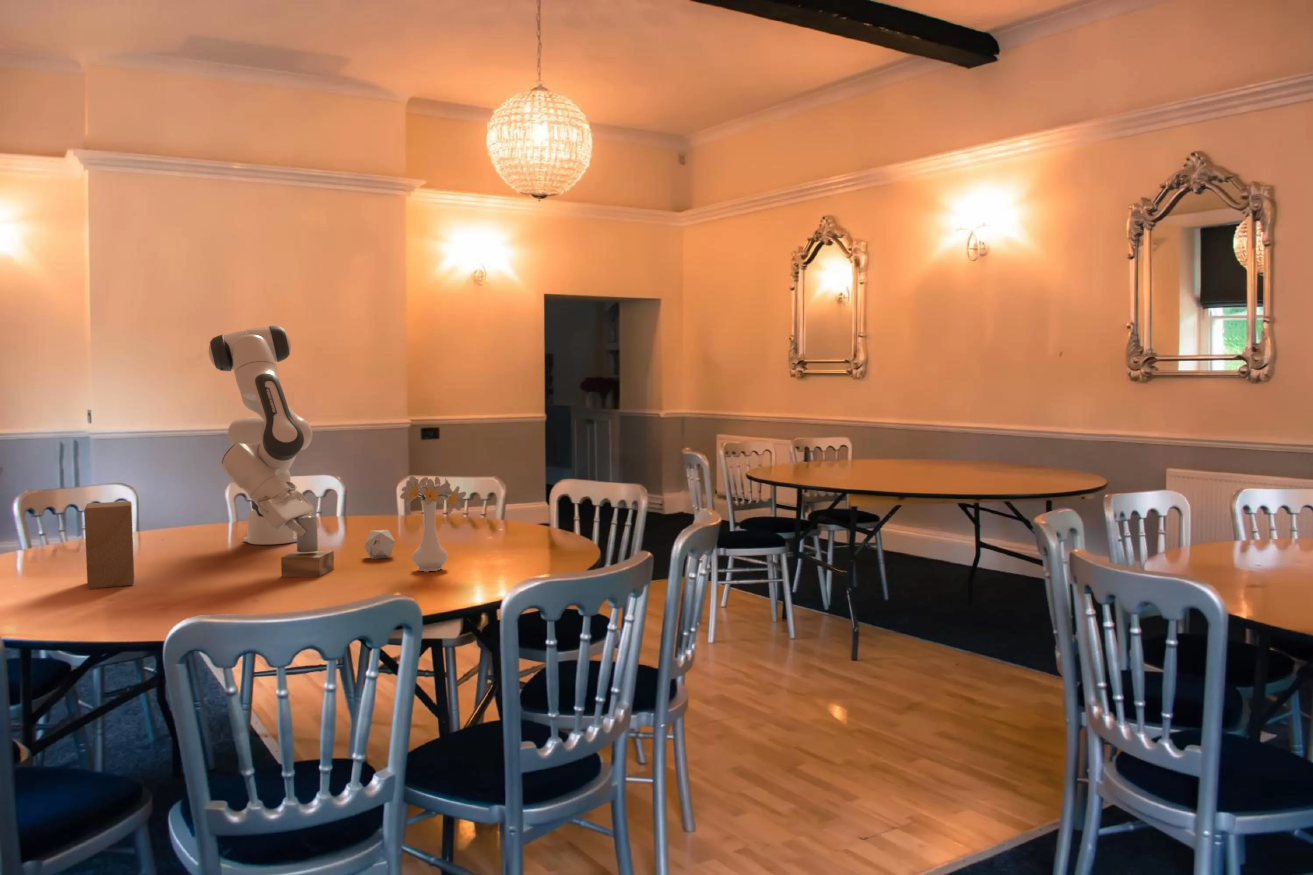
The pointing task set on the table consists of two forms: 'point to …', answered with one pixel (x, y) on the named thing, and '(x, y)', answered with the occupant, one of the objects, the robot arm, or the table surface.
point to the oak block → (307, 564)
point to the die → (379, 544)
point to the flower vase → (431, 518)
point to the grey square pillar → (307, 534)
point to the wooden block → (109, 544)
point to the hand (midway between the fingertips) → (309, 531)
